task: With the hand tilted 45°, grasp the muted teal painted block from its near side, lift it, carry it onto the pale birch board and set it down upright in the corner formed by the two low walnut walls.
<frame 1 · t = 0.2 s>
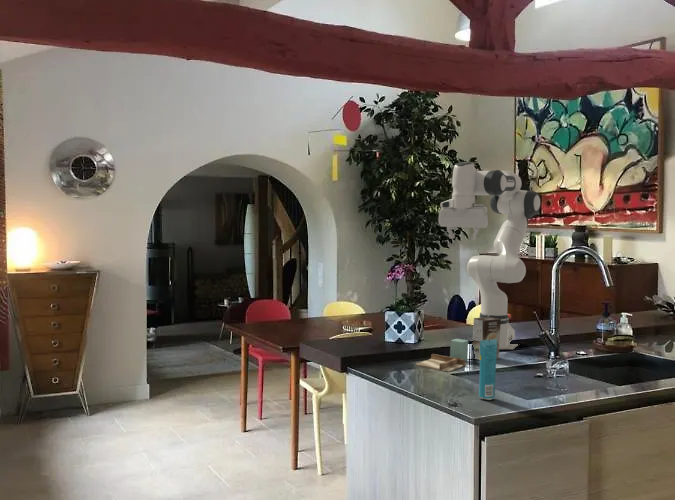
hand: (462, 238, 280), 47 cm above the counter, tool pointing down, fingers open, 8 cm apart
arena: (441, 365, 272), on the counter
block: (458, 360, 280), on the counter
coffee box: (485, 358, 285), on the counter
tube: (486, 399, 229), on the counter
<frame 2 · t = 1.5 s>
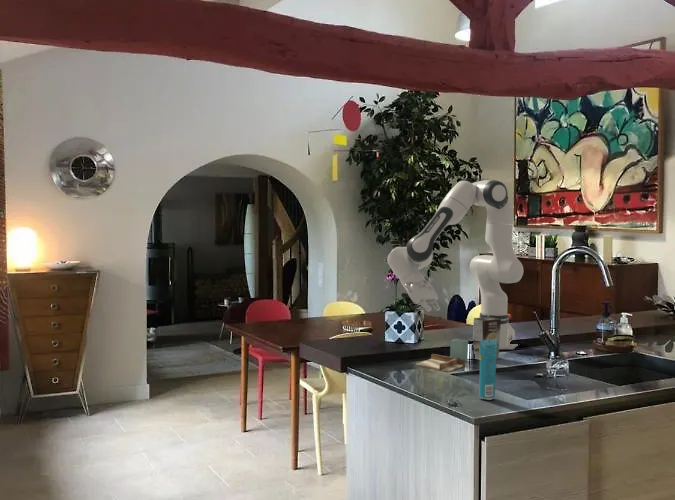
hand: (434, 310, 284), 19 cm above the counter, tool tilted 45°, fingers open, 8 cm apart
nothing on the counter moved.
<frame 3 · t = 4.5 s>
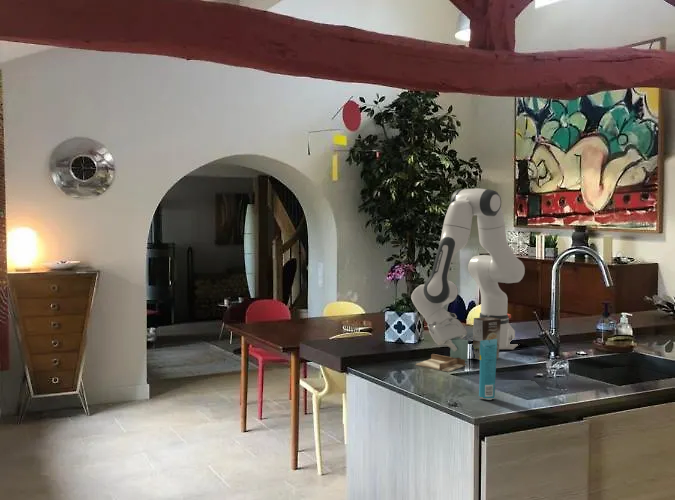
hand: (460, 349, 280), 5 cm above the counter, tool tilted 45°, fingers closed on block, 5 cm apart
block: (458, 360, 280), on the counter, touching gripper
everything else where it was.
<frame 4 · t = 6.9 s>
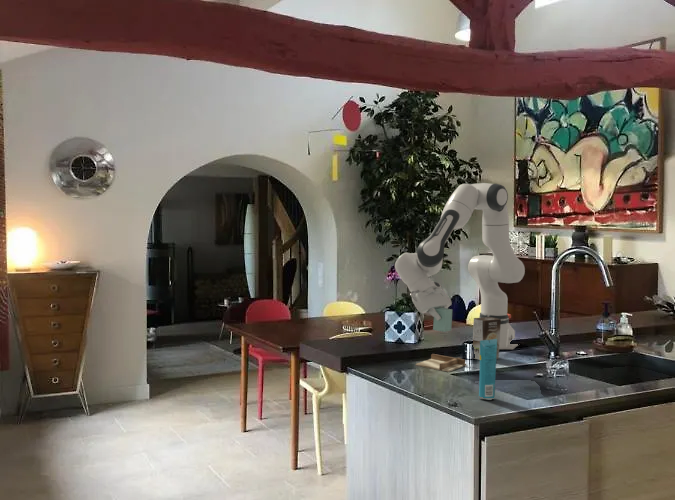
hand: (444, 318, 270), 18 cm above the counter, tool tilted 45°, fingers closed on block, 5 cm apart
block: (442, 330, 271), point 14 cm above the counter, touching gripper
everything else where it was.
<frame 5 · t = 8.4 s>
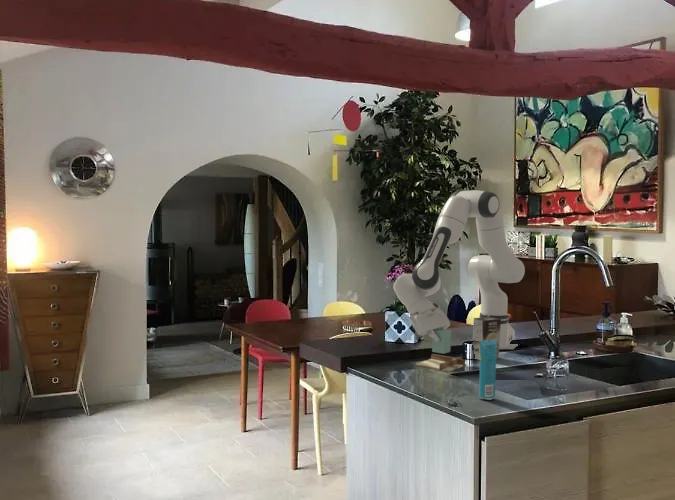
hand: (443, 340, 270), 10 cm above the counter, tool tilted 45°, fingers closed on block, 5 cm apart
block: (441, 351, 271), point 5 cm above the counter, touching gripper
everything else where it was.
when the fingers open (6 cm above the counter, at t = 9.5 s): block drops 1 cm, resting on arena.
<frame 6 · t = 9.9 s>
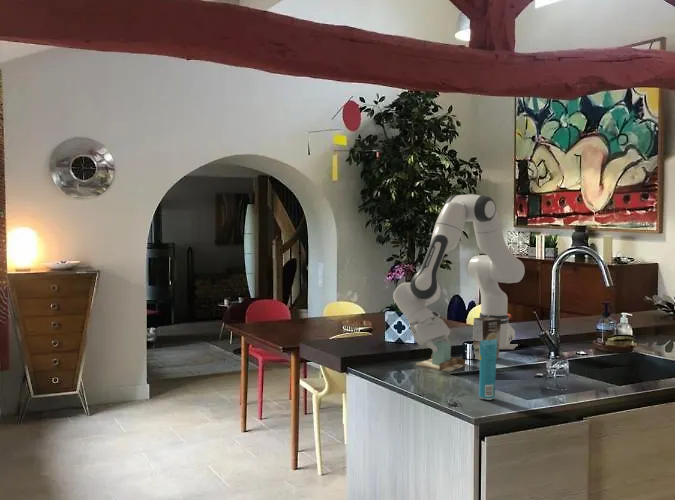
hand: (443, 349, 271), 6 cm above the counter, tool tilted 45°, fingers open, 8 cm apart
block: (441, 363, 272), point 1 cm above the counter, touching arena
everything else where it was.
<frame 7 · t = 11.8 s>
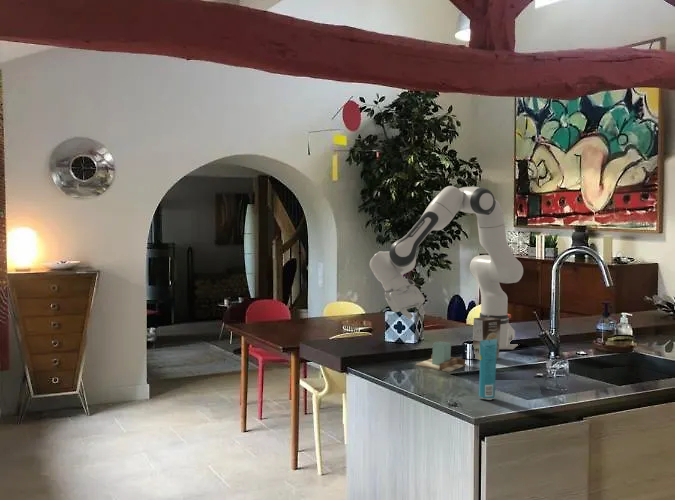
hand: (417, 316, 278), 17 cm above the counter, tool tilted 45°, fingers open, 8 cm apart
nothing on the counter moved.
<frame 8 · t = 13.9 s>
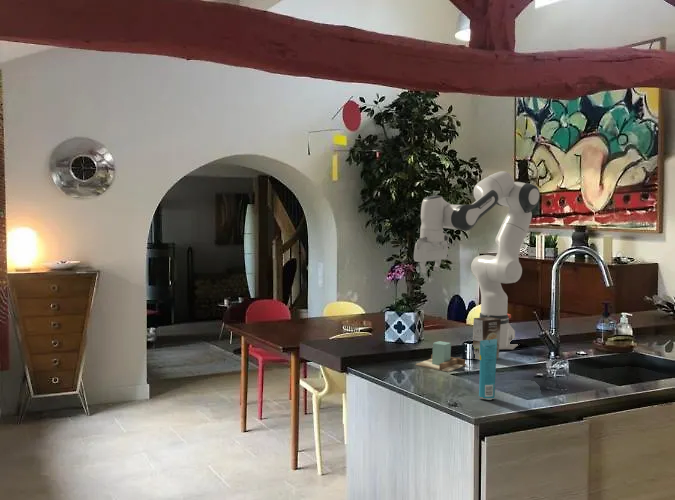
hand: (430, 272, 282), 34 cm above the counter, tool pointing down, fingers open, 8 cm apart
nothing on the counter moved.
at the end: block 0.1 cm off-centre on the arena, point 0.6 cm above the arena's base; block tilted 0°; the gripper is holding nothing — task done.
